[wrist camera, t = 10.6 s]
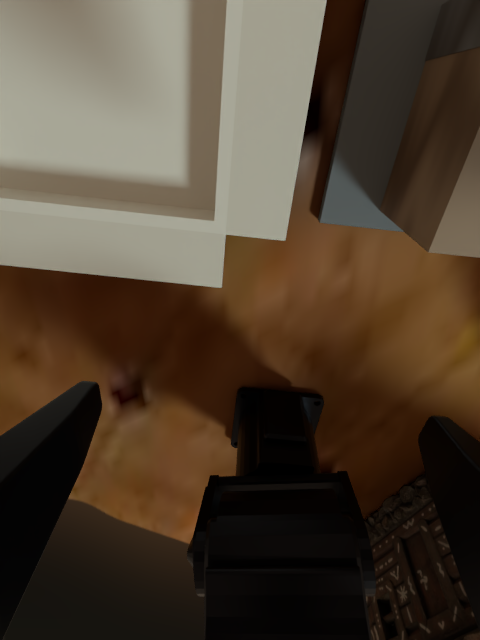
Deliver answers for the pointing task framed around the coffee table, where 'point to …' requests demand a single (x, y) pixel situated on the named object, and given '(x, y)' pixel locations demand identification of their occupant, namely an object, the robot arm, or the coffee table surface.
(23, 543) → the robot arm
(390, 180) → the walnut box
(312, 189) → the coffee table surface
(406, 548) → the model building
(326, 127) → the coffee table surface
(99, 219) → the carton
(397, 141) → the slate mat
